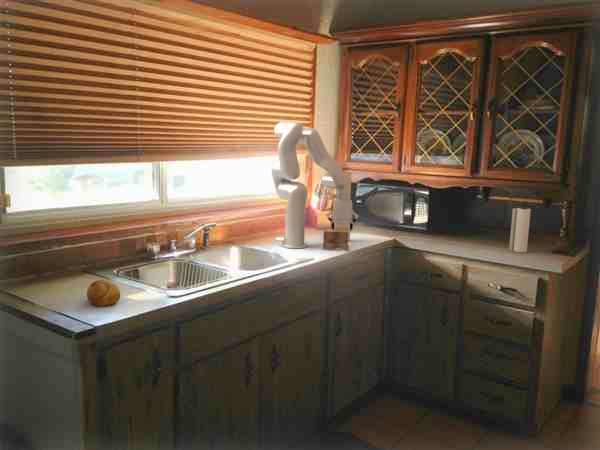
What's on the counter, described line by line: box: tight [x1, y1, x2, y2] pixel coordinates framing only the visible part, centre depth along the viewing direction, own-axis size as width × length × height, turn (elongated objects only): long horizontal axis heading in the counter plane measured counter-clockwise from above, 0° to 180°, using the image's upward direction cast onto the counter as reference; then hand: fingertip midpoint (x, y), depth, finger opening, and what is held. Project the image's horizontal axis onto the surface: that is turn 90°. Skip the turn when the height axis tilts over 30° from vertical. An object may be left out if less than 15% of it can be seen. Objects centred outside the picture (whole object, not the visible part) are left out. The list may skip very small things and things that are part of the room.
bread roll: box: [86, 279, 121, 307], centre depth 172 cm, size 13×10×8 cm
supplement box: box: [334, 219, 351, 242], centre depth 280 cm, size 8×5×13 cm, turn 86°
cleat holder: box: [322, 230, 349, 252], centre depth 262 cm, size 12×12×7 cm
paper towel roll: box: [508, 207, 531, 254], centre depth 263 cm, size 7×6×21 cm
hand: (341, 230), depth 280 cm, fingers closed on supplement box, 8 cm apart
